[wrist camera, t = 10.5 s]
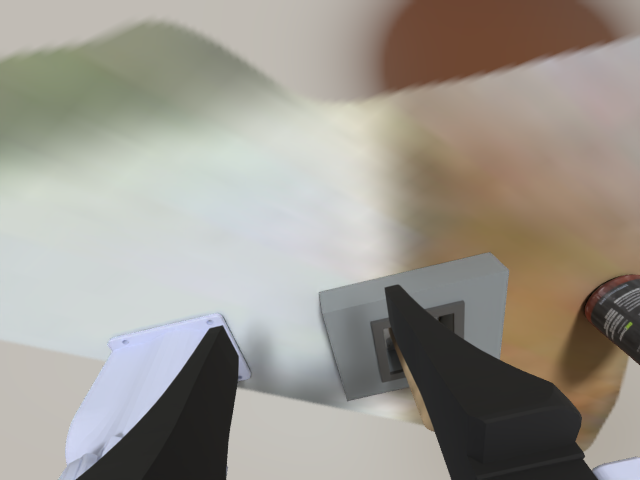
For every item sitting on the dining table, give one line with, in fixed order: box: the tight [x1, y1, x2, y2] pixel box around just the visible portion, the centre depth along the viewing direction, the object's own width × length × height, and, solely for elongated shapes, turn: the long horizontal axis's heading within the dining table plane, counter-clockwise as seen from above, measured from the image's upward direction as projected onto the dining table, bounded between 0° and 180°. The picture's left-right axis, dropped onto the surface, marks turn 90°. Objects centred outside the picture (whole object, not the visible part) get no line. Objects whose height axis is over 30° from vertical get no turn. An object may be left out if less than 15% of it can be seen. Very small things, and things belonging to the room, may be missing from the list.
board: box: [319, 252, 509, 401], centre depth 27 cm, size 14×11×3 cm
